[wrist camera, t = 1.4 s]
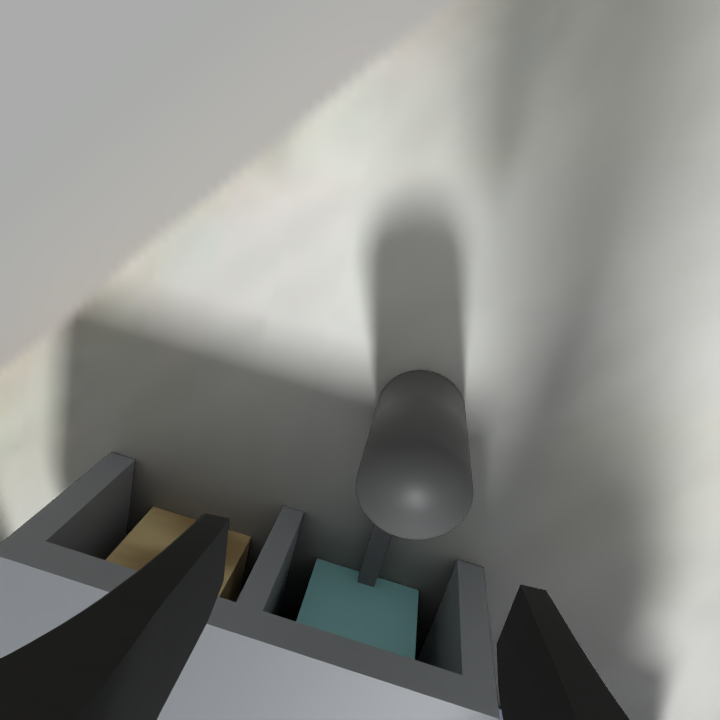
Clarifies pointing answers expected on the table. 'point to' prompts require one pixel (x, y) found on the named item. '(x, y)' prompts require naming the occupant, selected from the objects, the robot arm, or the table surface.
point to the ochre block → (162, 531)
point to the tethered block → (397, 510)
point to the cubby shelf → (248, 624)
